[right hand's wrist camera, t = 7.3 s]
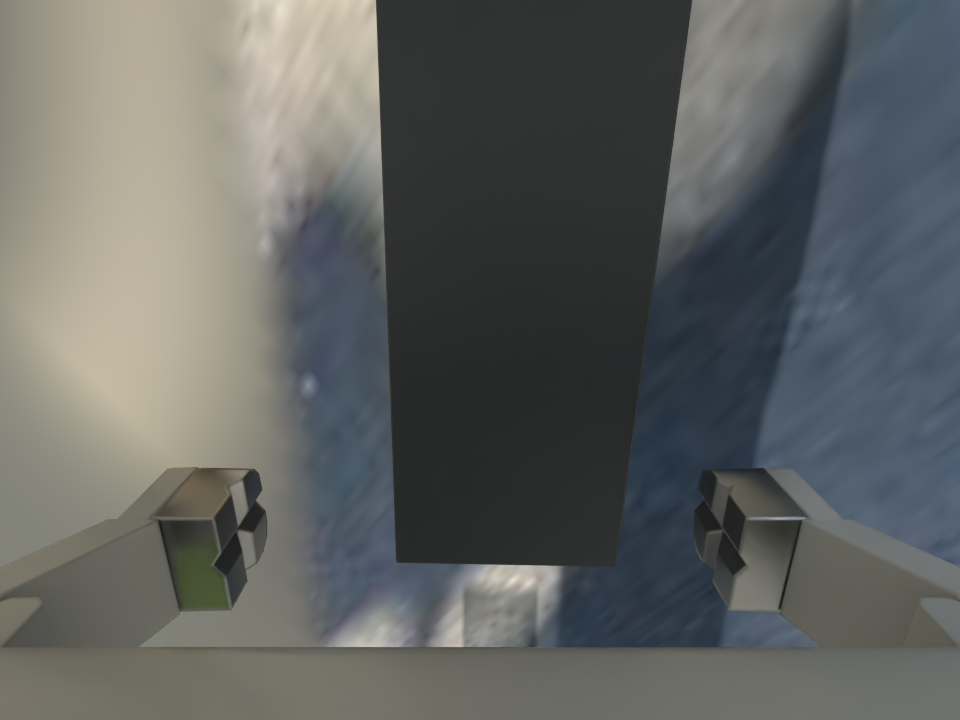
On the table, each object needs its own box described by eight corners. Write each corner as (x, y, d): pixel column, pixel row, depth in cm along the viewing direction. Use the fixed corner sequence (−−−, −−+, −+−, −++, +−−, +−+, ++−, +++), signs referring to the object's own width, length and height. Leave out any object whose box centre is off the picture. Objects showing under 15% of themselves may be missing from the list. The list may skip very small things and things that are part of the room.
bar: (559, 393, 21) (616, 568, 12) (431, 391, 21) (395, 563, 12) (630, -492, 13) (937, -1811, 4) (424, -498, 13) (308, -1846, 4)
